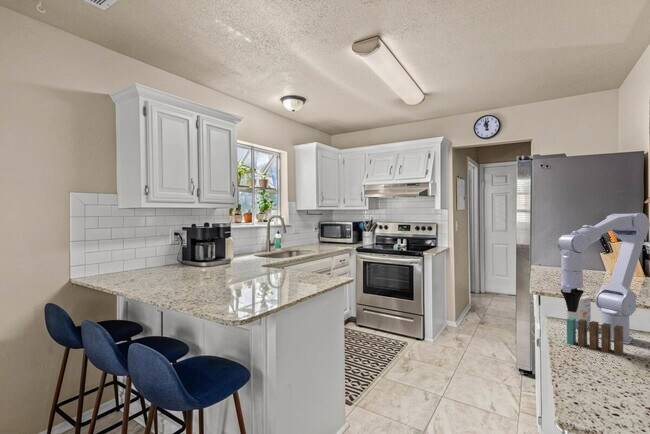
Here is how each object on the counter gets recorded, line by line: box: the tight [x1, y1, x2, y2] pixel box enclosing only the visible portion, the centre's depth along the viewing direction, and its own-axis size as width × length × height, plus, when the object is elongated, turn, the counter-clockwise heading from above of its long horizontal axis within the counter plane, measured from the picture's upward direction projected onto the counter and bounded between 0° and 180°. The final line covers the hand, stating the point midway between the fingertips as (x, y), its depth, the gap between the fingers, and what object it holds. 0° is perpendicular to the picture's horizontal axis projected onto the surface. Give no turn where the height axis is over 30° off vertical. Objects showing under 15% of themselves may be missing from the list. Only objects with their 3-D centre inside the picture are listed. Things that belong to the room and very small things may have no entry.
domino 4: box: [600, 323, 612, 353], centre depth 106 cm, size 2×4×8 cm, turn 131°
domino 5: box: [613, 325, 624, 356], centre depth 104 cm, size 2×4×8 cm, turn 130°
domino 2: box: [577, 319, 588, 348], centre depth 111 cm, size 2×4×8 cm, turn 131°
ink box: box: [566, 294, 592, 328], centre depth 131 cm, size 8×5×15 cm, turn 123°
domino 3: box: [588, 320, 600, 351], centre depth 108 cm, size 2×4×8 cm, turn 131°
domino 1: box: [566, 317, 577, 345], centre depth 113 cm, size 2×4×8 cm, turn 132°
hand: (572, 311), depth 113 cm, fingers closed
